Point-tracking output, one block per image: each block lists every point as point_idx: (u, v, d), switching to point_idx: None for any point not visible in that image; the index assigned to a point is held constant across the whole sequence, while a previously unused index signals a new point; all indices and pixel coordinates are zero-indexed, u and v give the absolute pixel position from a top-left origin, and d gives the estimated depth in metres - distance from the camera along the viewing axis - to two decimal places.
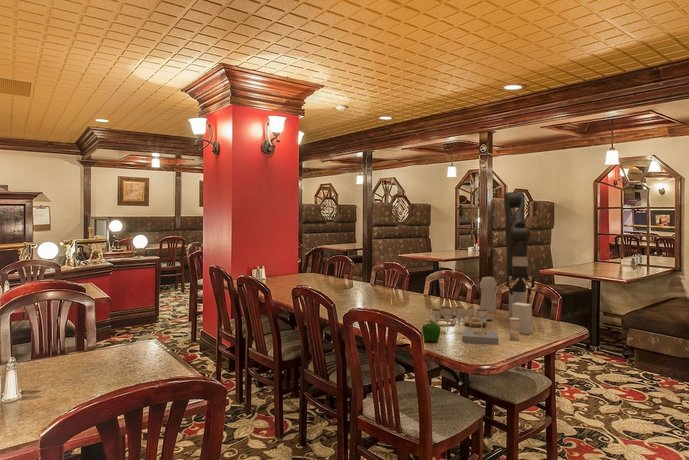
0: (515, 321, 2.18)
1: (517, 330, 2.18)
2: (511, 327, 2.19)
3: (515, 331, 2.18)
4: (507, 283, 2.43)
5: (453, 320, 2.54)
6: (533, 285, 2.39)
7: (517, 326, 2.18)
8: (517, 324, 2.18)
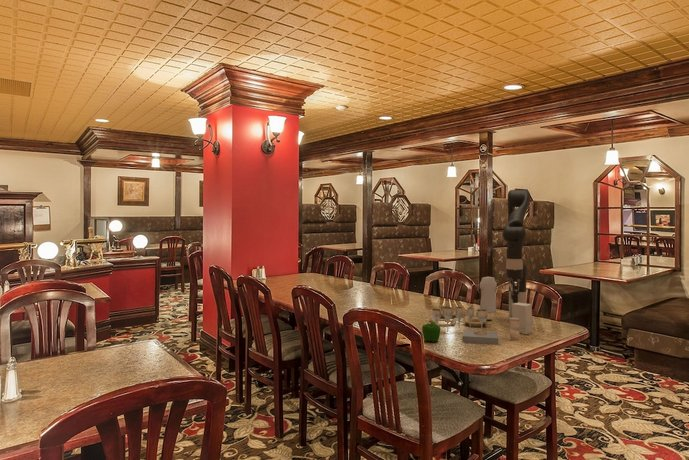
0: (515, 321, 2.18)
1: (517, 330, 2.18)
2: (511, 327, 2.19)
3: (515, 331, 2.18)
4: None
5: (453, 320, 2.54)
6: None
7: (517, 326, 2.18)
8: (517, 324, 2.18)
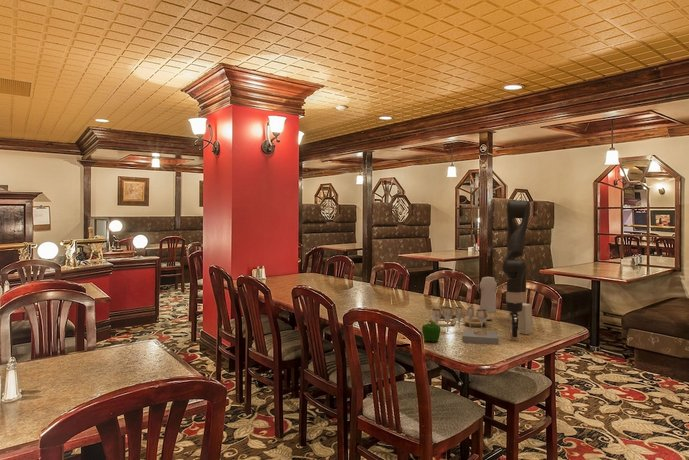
0: None
1: (517, 330, 2.18)
2: (511, 327, 2.19)
3: None
4: (517, 325, 2.15)
5: (453, 320, 2.54)
6: None
7: None
8: None
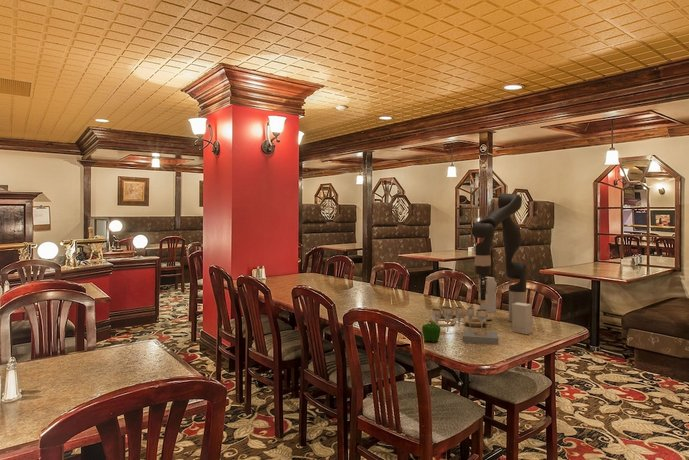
0: None
1: (485, 293, 2.18)
2: (479, 290, 2.19)
3: None
4: (485, 288, 2.15)
5: (453, 320, 2.54)
6: None
7: None
8: None
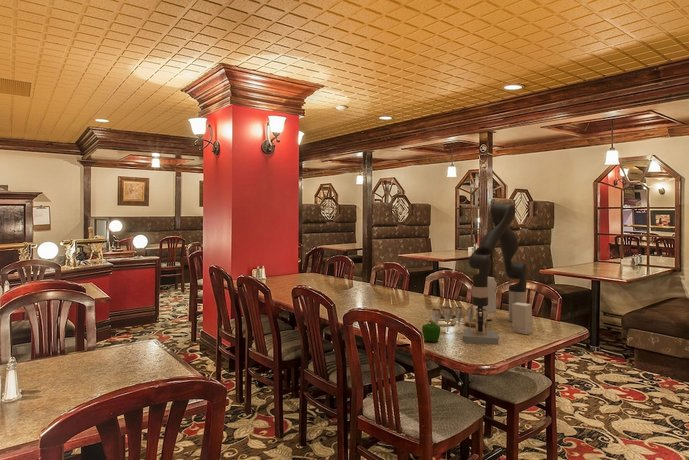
0: None
1: (483, 324, 2.19)
2: None
3: None
4: None
5: (453, 320, 2.54)
6: None
7: (483, 321, 2.19)
8: (483, 319, 2.19)
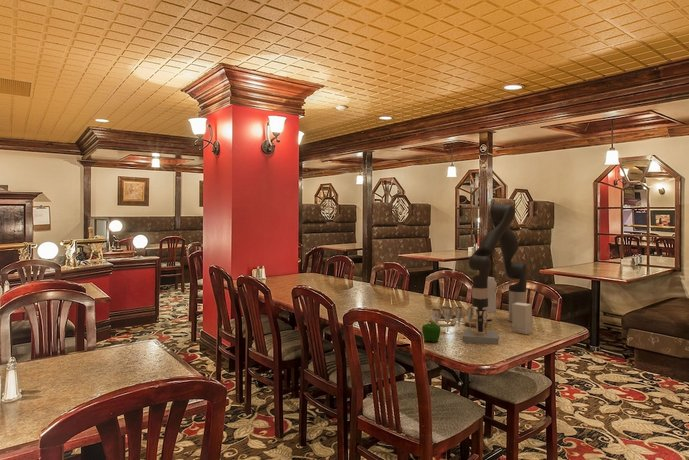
0: None
1: (483, 330, 2.19)
2: (477, 327, 2.20)
3: None
4: None
5: (453, 320, 2.54)
6: None
7: (483, 326, 2.19)
8: (483, 324, 2.19)
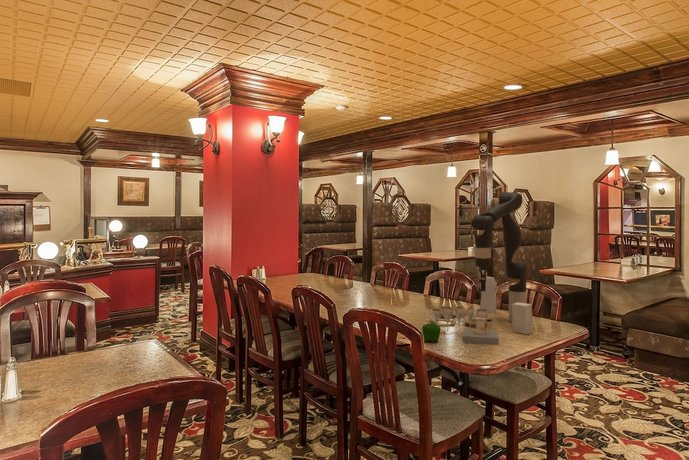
0: (481, 321, 2.20)
1: (483, 330, 2.19)
2: (477, 327, 2.20)
3: (481, 331, 2.20)
4: (485, 278, 2.15)
5: (453, 320, 2.54)
6: None
7: (483, 326, 2.19)
8: (483, 324, 2.19)
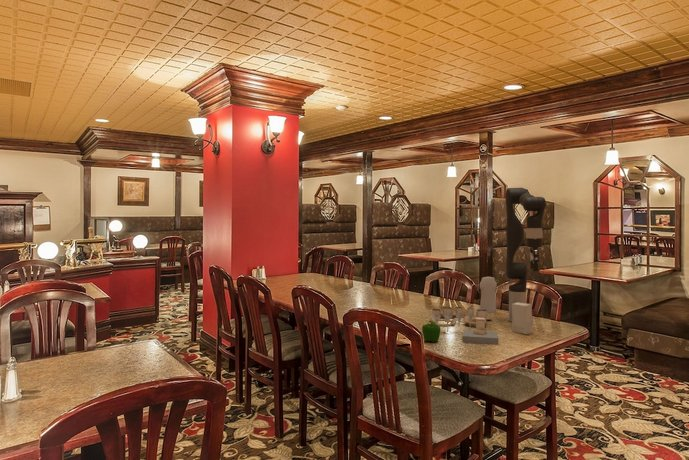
0: (481, 321, 2.20)
1: (483, 330, 2.19)
2: (477, 327, 2.20)
3: (481, 331, 2.20)
4: None
5: (453, 320, 2.54)
6: None
7: (483, 326, 2.19)
8: (483, 324, 2.19)
